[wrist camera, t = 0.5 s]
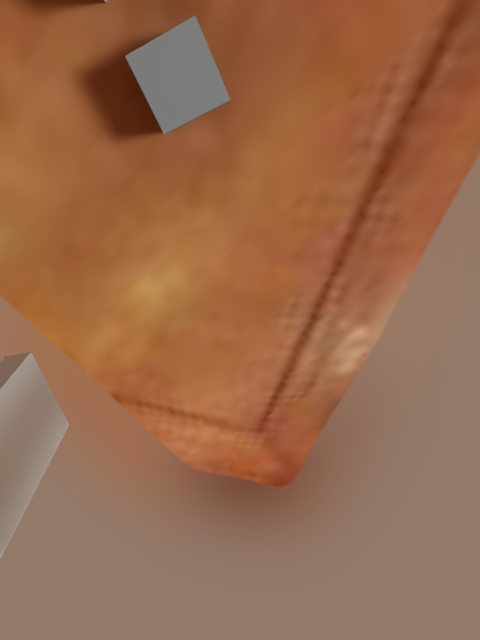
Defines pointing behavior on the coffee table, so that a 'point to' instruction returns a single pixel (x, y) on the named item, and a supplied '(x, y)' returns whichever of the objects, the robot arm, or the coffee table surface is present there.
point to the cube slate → (179, 76)
